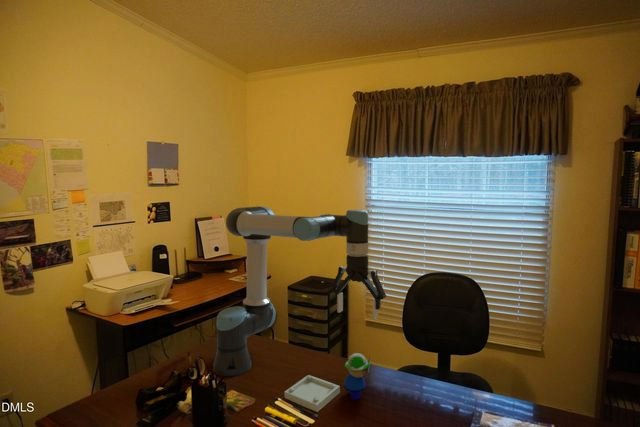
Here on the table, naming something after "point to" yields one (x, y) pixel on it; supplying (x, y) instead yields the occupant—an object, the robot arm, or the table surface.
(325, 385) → the base plate
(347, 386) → the toy
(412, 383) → the table surface
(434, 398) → the table surface
